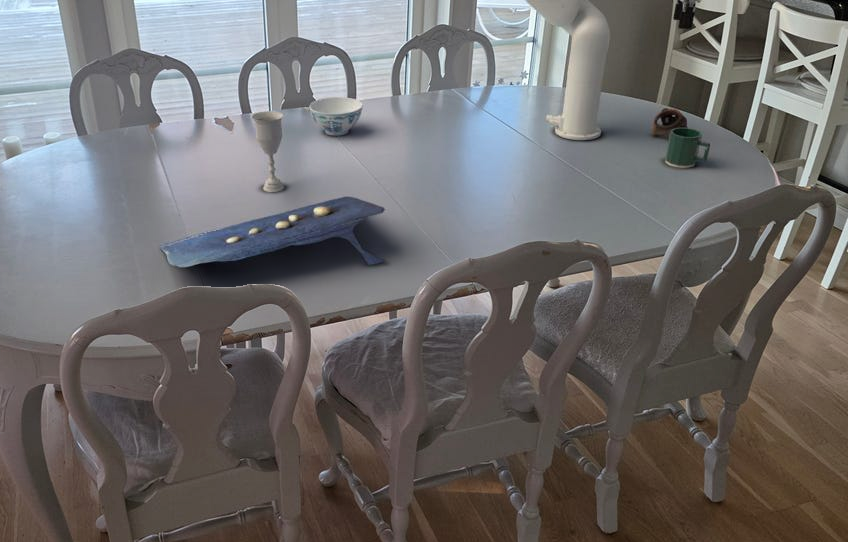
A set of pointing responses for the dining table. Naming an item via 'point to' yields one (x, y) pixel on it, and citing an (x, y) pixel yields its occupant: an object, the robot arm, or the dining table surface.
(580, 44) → the robot arm
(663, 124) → the broken pottery
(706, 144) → the green mug
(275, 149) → the chalice
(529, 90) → the dining table surface
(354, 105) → the chinaware
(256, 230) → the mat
